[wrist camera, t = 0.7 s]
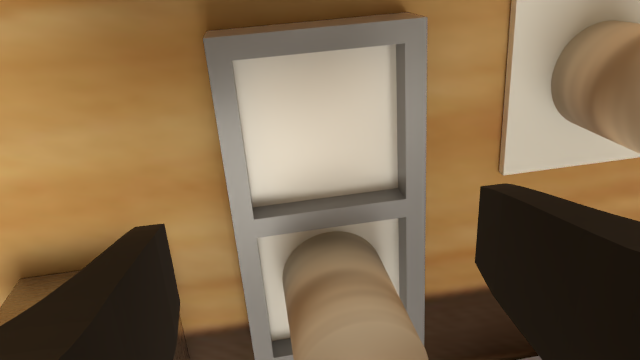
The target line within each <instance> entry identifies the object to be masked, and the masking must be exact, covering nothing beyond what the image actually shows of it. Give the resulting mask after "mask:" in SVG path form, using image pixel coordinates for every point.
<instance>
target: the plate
mask: <svg viewBox="0 0 640 360" xmlns="http://www.w3.org/2000/svg"><path fill="white" fill-rule="evenodd" d="M611 20H616V21H624V22H631V23H639V24H640V0H511V14H510V28H509V42H508V55H507V69H506V83H505V97H504V110H503V124H502V138H501V152H500V165H499V172H500V173H501V174H502V175H510V174H517V173H525V172H532V171H540V170H547V169H555V168H562V167H570V166H577V165H585V164H592V163H600V162H607V161H615V160H622V159H630V158H637V157H640V154H639V153H637V152H635V151H632V150H630V149H628V148H626V147H624V146H622V145H619V144H617V143H615V142H613V141H611V140H608V139H606V138H604V137H602V136H600V135H597V134H595V133H593V132H591V131H589V130H586V129H584V128H582V127H580V126H578V125H576V124H573V123H571V122H569V121H568V120H566V119H565V118H564V117H563V116H562V115H561V114H560V113H559V112H558V110H557V109H556V107H555V105H554V102H553V99H552V94H551V80H552V74H553V71H554V67H555V65H556V62H557V60H558V58H559V56H560V54H561V53H562V51H563V50H564V48H565V47H566V46H567V44H568V43H569V42H570V41H571V40H572V39H573V38H574V37H575V36H576V35H577V34H579V33H580V32H581V31H583V30H584V29H586V28H588V27H589V26H592V25H594V24H596V23H599V22H603V21H611Z"/></svg>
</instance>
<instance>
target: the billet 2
mask: <svg viewBox="0 0 640 360" xmlns="http://www.w3.org/2000/svg"><path fill="white" fill-rule="evenodd" d="M551 94H552V99H553V102H554V105H555V107H556V109H557V110H558V112H559V113H560V114H561V115H562V116H563V117H564V118H565V119H566V120H568V121H569V122H571V123H573V124H576V125H578V126H580V127H582V128H584V129H586V130H589V131H591V132H593V133H595V134H597V135H600V136H602V137H604V138H606V139H608V140H611V141H613V142H615V143H617V144H619V145H622V146H624V147H626V148H628V149H630V150H632V151H635V152H637V153H639V154H640V24H639V23H631V22H624V21H616V20H611V21H603V22H599V23H596V24H594V25H592V26H589V27H588V28H586V29H584V30H583V31H581V32H580V33H579V34H577V35H576V36H575V37H574V38H573V39H572V40H571V41H570V42H569V43H568V44H567V46H566V47H565V48H564V50H563V51H562V53H561V54H560V56H559V58H558V60H557V62H556V65H555V67H554V71H553V74H552V80H551Z"/></svg>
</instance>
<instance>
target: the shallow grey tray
mask: <svg viewBox="0 0 640 360" xmlns="http://www.w3.org/2000/svg"><path fill="white" fill-rule="evenodd" d="M203 42H204V48H205V54H206V61H207V67H208V73H209V79H210V85H211V91H212V98H213V104H214V110H215V116H216V122H217V128H218V135H219V141H220V147H221V153H222V159H223V165H224V172H225V178H226V184H227V190H228V196H229V203H230V209H231V215H232V221H233V227H234V233H235V240H236V246H237V252H238V258H239V264H240V270H241V277H242V283H243V289H244V295H245V301H246V307H247V314H248V320H249V326H250V332H251V338H252V345H253V351H254V357H255V360H294V358H293V351H292V344H291V337H290V331H289V324H288V317H287V310H286V303H285V296H284V289H283V280H282V277H283V270H284V266H285V264H286V262H287V260H288V258H289V256H290V255H291V253H292V252H293V251H294V250H295V249H296V248H297V247H298V246H299V245H300V244H301V243H303V242H304V241H306V240H307V239H309V238H311V237H313V236H315V235H318V234H321V233H326V232H333V231H343V232H349V233H353V234H356V235H358V236H360V237H362V238H364V239H365V240H367V241H368V242H369V243H370V244H371V245H372V246H373V247H374V248H375V250H376V251H377V253H378V255H379V257H380V259H381V261H382V263H383V265H384V267H385V269H386V271H387V273H388V275H389V277H390V279H391V281H392V283H393V285H394V287H395V289H396V291H397V293H398V295H399V297H400V299H401V301H402V303H403V305H404V308H405V310H406V312H407V314H408V316H409V318H410V320H411V322H412V324H413V326H414V328H415V330H416V332H417V334H418V336H419V338H420V340H421V342H422V344H423V346H424V310H425V212H426V114H427V17H425V16H421V15H417V14H413V13H409V12H404V13H393V14H383V15H372V16H361V17H350V18H340V19H329V20H318V21H308V22H297V23H286V24H276V25H265V26H254V27H243V28H233V29H222V30H211V31H206V33H205V35H204V37H203Z"/></svg>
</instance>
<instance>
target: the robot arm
mask: <svg viewBox="0 0 640 360" xmlns="http://www.w3.org/2000/svg"><path fill="white" fill-rule="evenodd" d="M475 263H476V265H477V267H478V269H479V271H480V272H481V274H482V276H483V278H484V280H485V282H486V284H487V285H488V287H489V289H490V291H491V292H492V294H493V296H494V297H495V299H496V300H497V301H498V303H499V304H500V305H501V307H502V308H503V309H504V311H505V312H506V313H507V315H508V316H509V317H510V319H511V320H512V321H513V323H514V324H515V325H516V327H517V328H518V329H519V331H520V332H521V333H522V334H523V336H524V337H525V338H526V340H527V341H528V342H529V343H530V345H531V346H532V347H533V349H534V350H535V351H536V353H537V354H538V355H539V356H535V357H529V358H524V359H518V360H640V222H639V221H636V220H632V219H628V218H625V217H621V216H617V215H614V214H610V213H607V212H603V211H600V210H597V209H593V208H590V207H587V206H584V205H581V204H577V203H574V202H571V201H568V200H565V199H562V198H559V197H555V196H552V195H549V194H546V193H543V192H539V191H536V190H532V189H529V188H525V187H521V186H517V185H512V184H497V185H489V186H481V189H480V202H479V216H478V229H477V242H476V256H475ZM179 311H180V299H179V294H178V289H177V284H176V279H175V274H174V269H173V264H172V259H171V254H170V250H169V245H168V240H167V235H166V230H165V225H164V224H157V225H148V226H140V227H135V228H133V229H132V230H130V231H129V232H127V233H126V234H125V235H123V236H122V237H121V238H120V239H119V240H117V241H116V242H115V243H114V244H113V245H111V246H110V247H109V248H108V249H107V250H105V251H104V252H103V253H102V254H100V255H99V256H98V257H97V258H96V259H94V260H93V261H92V262H91V263H89V264H88V265H87V266H86V267H85V268H83V269H82V270H81V271H80V272H78V273H77V274H76V275H74V276H73V277H72V278H70V279H69V280H68V281H66V282H65V283H64V284H62V285H61V286H60V287H58V288H57V289H55V290H54V291H53V292H51V293H50V294H49V295H47V296H46V297H45V298H43V299H42V300H40V301H39V302H37V303H36V304H35V305H33V306H32V307H30V308H28V309H27V310H25V311H24V312H22V313H21V314H19V315H18V316H16V317H14V318H13V319H11V320H9V321H8V322H6V323H4V324H3V325H1V326H0V360H173V359H174V354H175V350H176V345H177V337H178V326H179Z"/></svg>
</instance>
